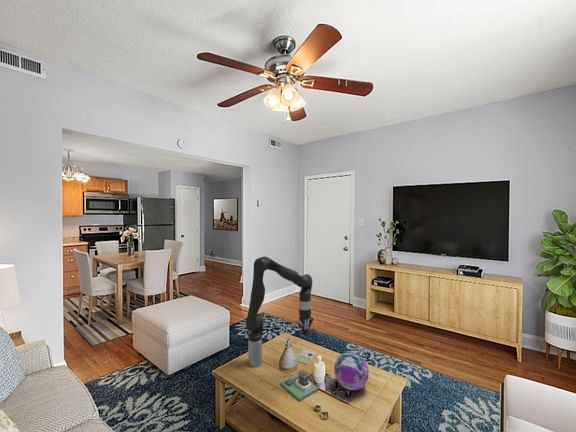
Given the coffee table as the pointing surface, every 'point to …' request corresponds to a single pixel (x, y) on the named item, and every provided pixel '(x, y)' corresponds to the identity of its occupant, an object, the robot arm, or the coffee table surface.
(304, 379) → the plug
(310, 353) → the handheld gaming console
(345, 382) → the decorative sphere
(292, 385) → the header board
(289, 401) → the coffee table surface
